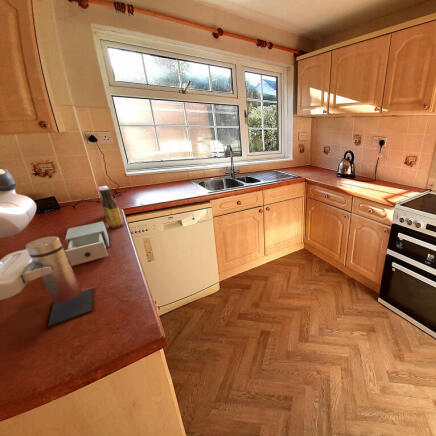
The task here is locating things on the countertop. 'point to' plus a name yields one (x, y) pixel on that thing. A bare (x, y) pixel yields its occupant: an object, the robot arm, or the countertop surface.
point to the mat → (71, 308)
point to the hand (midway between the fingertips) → (56, 261)
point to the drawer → (86, 249)
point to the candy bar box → (99, 190)
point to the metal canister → (54, 268)
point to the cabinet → (87, 232)
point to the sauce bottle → (111, 209)
